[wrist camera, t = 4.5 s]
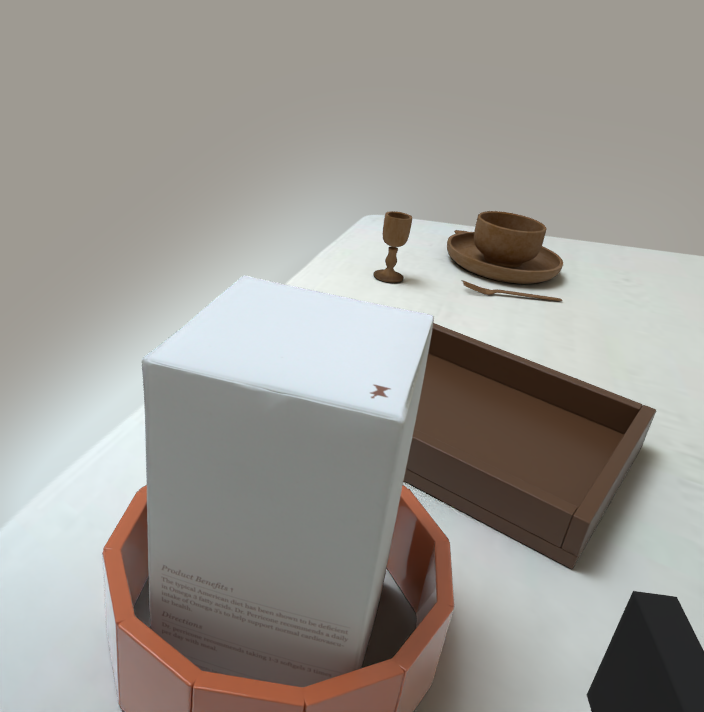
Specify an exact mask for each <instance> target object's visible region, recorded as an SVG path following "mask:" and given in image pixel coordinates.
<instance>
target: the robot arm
mask: <svg viewBox="0 0 704 712" xmlns="http://www.w3.org/2000/svg"><path fill="white" fill-rule="evenodd" d="M587 697H588V701H589V704H590V707H591V711H592V712H704V651H703V649H702V647H701V645H700V643H699V641H698V639H697V637H696V635H695V633H694V631H693V629H692V627H691V625H690V623H689V621H688V619H687V617H686V615H685V613H684V611H683V609H682V607H681V605H680V603H679V601H678V599H677V597H673V596H666V595H658V594H651V593H644V592H636V591H633V593H632V595H631V597H630V599H629V601H628V604H627V606H626V608H625V610H624V613H623V615H622V617H621V619H620V622H619V624H618V626H617V628H616V631H615V633H614V635H613V637H612V640H611V642H610V644H609V646H608V649H607V651H606V653H605V655H604V657H603V660H602V662H601V664H600V666H599V669H598V671H597V673H596V675H595V678H594V680H593V682H592V684H591V687H590V689H589V691H588V693H587Z"/></svg>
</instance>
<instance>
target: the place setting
mask: <svg viewBox="0 0 704 712" xmlns="http://www.w3.org/2000/svg"><path fill="white" fill-rule="evenodd" d="M411 223H412V216H410V215H408V214H405V213H401V212H387V213H386V214H385V219H384V226H383V240H384V242H385V243H386V244H388V245H389V246H391V247H389V253H388V256H387V257H386V260H385V262H386V265H387V268H386V269H385V270H377V271H375V272H374V277H375V278H376V279H378V280H381V281H384V282H389V283H398V282H401V281H403V279H404V277H403V276H402V275H401V274H400V273H398V272H395V271H394V269H393V267H394V266H395V265H396V263H397V257H396V253H397V251H398V248H396V247H400V246H403V245H404V244H405V243H406V242H407V240H408V237H409V233H410V228H411ZM454 232H455V233H456V234H454V235H452V236H450V237H449V238H448V241H447V250H448V253H449V255H450V256H451V258H452V259H453V260H454V261H455V262H456V263H458V264H459V265H460V266H462V267H463V268H465V269H466V270H468V271H470V272H472V273H475V274H477V275H480V276H483V277H486V278H489V279H493V280H497V281H502V282H508V283H517V284H533V283H539V282H544V281H547V280H550V279H552V278H554V277H555V276H556V275H558V274H559V272H560V271H561V268H562V266H563V261H562V259H561V258H560V257H559V256H558V255H557V254H556V253H554V252H553V251H551V250H549V249H547V248H545V247H543V246H542V243H543V240H544V236H545V233H546V227H545V226H544V225H543V224H542V223H540V222H538V221H536V220H534V219H531V218H528V217H525V216H522V215H517V214H513V213H506V212H497V211H487V212H482V213H480V214H479V215H478V218H477V222H476V227H475V232H467V231H459V230H455V231H454ZM461 281H462V280H461ZM463 284H464V286H466V287H468V288H470V289H473V290H475V291H478V292H480V293H483V294H487V295H492V294H494V293H506V294H512V295H519V296H525V297H532V298H539V299H546V300H555V301H562V299H559V298H553V297H547V296H540V295H533V294H526V293H519V292H512V291H505V290H489V289H485V288H481V287H478V286H476V285H473V284H471V283H468V282H465V281H463Z"/></svg>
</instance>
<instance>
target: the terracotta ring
mask: <svg viewBox="0 0 704 712" xmlns="http://www.w3.org/2000/svg"><path fill="white" fill-rule="evenodd" d="M102 554H103V574H104V593H105V612H106V631H107V637H108V643H109V649H110V655H111V661H112V667H113V673H114V679H115V685H116V691H117V697H118V703H119V705H121V709H122V710H123V711H124V712H413V711H414V710H415V709H416V707H417V706H418V704H419V703H420V701H421V700H422V698H423V697H424V696H425V694H426V693H427V691H428V690H429V688H430V687H431V685H432V682H433V679H434V675H435V672H436V668H437V665H438V661H439V658H440V655H441V651H442V648H443V644H444V641H445V637H446V634H447V630H448V627H449V623H450V620H451V616H452V613H453V609H454V597H453V582H452V567H451V552H450V542H449V539H448V538H447V537H446V535H445V534H444V533H443V532H442V530H441V529H440V528H439V526H438V525H437V524H436V523H435V521H434V520H433V519H432V518H431V516H430V515H429V514H428V512H427V511H426V510H425V509H424V507H423V506H422V505H421V503H420V502H419V501H418V500H417V498H416V497H415V496H414V494H413V493H412V492H411V491H410V489H407V487H405V486H404V485H402V491H401V496H400V501H399V506H398V511H397V516H396V521H395V526H394V531H393V536H392V541H391V547H390V552H389V557H388V562H387V569H388V570H389V572H390V573H391V575H392V577H393V578H394V580H395V581H396V583H397V584H398V586H399V587H400V589H401V591H402V592H403V594H404V595H405V597H406V598H407V600H408V601H409V603H410V605H411V606H412V608H413V609H414V611H415V612H416V619H417V628H416V629H415V630H414V631H413V633H412V634H411V635H410V637H409V638H408V639H407V640H406V642H405V643H404V644H403V645H402V647H401V648H400V649H399V650H398V652H397V653H396V654H395V655H394V657H393V658H391V659H388V660H385V661H382V662H379V663H376V664H373V665H370V666H367V667H364V668H361V669H358V670H355V671H352V672H349V673H346V674H343V675H339V676H336V677H333V678H330V679H327V680H324V681H321V682H318V683H315V684H312V685H309V686H306V687H297V686H291V685H285V684H279V683H273V682H267V681H261V680H255V679H249V678H243V677H237V676H231V675H225V674H219V673H213V672H207V671H202V670H201V669H199V668H198V667H197V666H196V665H194V664H193V663H192V662H191V661H189V660H188V659H187V658H186V657H185V656H183V655H182V654H181V653H180V652H178V651H177V650H176V649H175V648H174V647H172V646H171V645H170V644H169V643H167V642H166V641H165V640H164V639H162V638H161V637H160V636H159V635H158V634H156V633H155V632H154V631H153V630H151V629H150V628H149V627H148V626H146V625H145V624H144V623H143V622H142V621H140V620H139V619H138V618H137V617H135V613H134V605H135V603H136V601H137V599H138V597H139V595H140V593H141V591H142V589H143V587H144V585H145V583H146V580H147V578H148V576H149V569H148V522H147V485H146V486H144V487H142V488H141V489H139V491H137V493H136V494H135V496H134V498H133V499H132V501H131V503H130V504H129V506H128V508H127V510H126V511H125V513H124V515H123V516H122V518H121V520H120V521H119V523H118V525H117V526H116V528H115V530H114V532H113V533H112V535H111V537H110V538H109V540H108V542H107V543H106V545H105V547H104V548H103V553H102Z"/></svg>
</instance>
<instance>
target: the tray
mask: <svg viewBox="0 0 704 712" xmlns="http://www.w3.org/2000/svg"><path fill="white" fill-rule="evenodd" d="M655 413H656V409H653V408H651V407H648V406H645V405H642V404H640V403H638V402H635V401H632V400H630V399H627V398H625V397H622V396H620V395H617V394H614V393H612V392H609V391H607V390H604V389H602V388H599V387H596V386H594V385H591V384H589V383H586V382H584V381H581V380H578V379H576V378H573V377H571V376H568V375H566V374H563V373H560V372H558V371H555V370H553V369H550V368H548V367H545V366H542V365H540V364H537V363H535V362H532V361H530V360H527V359H524V358H522V357H519V356H517V355H514V354H512V353H509V352H506V351H504V350H501V349H499V348H496V347H494V346H491V345H488V344H486V343H483V342H481V341H478V340H476V339H473V338H470V337H468V336H465V335H463V334H460V333H458V332H455V331H452V330H450V329H447V328H445V327H442V326H440V325H437V324H435V323H433V328H432V335H431V340H430V346H429V351H428V357H427V362H426V368H425V374H424V379H423V385H422V390H421V395H420V400H419V405H418V411H417V416H416V421H415V426H414V431H413V436H412V441H411V446H410V451H409V456H408V461H407V465H406V470H405V475H404V480H403V481H405V482H407V483H409V484H411V485H413V486H415V487H417V488H419V489H420V490H422V491H424V492H426V493H428V494H430V495H432V496H434V497H436V498H438V499H439V500H441V501H443V502H445V503H447V504H449V505H451V506H453V507H455V508H457V509H458V510H460V511H462V512H464V513H466V514H468V515H470V516H472V517H474V518H476V519H477V520H479V521H481V522H483V523H485V524H487V525H489V526H491V527H493V528H495V529H496V530H498V531H500V532H502V533H504V534H506V535H508V536H510V537H512V538H514V539H515V540H517V541H519V542H521V543H523V544H525V545H527V546H529V547H531V548H533V549H534V550H536V551H538V552H540V553H542V554H544V555H546V556H548V557H550V558H552V559H553V560H555V561H557V562H559V563H561V564H563V565H565V566H567V567H569V568H570V569H573V567H574V566H575V564H576V562H577V560H578V559H579V557H580V555H581V553H582V552H583V550H584V548H585V546H586V544H587V543H588V541H589V539H590V537H591V536H592V534H593V532H594V530H595V529H596V527H597V525H598V523H599V521H600V520H601V518H602V516H603V514H604V513H605V511H606V509H607V507H608V506H609V504H610V502H611V500H612V498H613V497H614V495H615V493H616V491H617V490H618V488H619V486H620V484H621V483H622V481H623V479H624V477H625V475H626V474H627V472H628V470H629V468H630V467H631V465H632V463H633V461H634V460H635V458H636V456H637V454H638V452H639V451H640V449H641V447H642V445H643V442H644V440H645V437H646V435H647V432H648V430H649V427H650V425H651V423H652V420H653V418H654V415H655Z"/></svg>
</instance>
